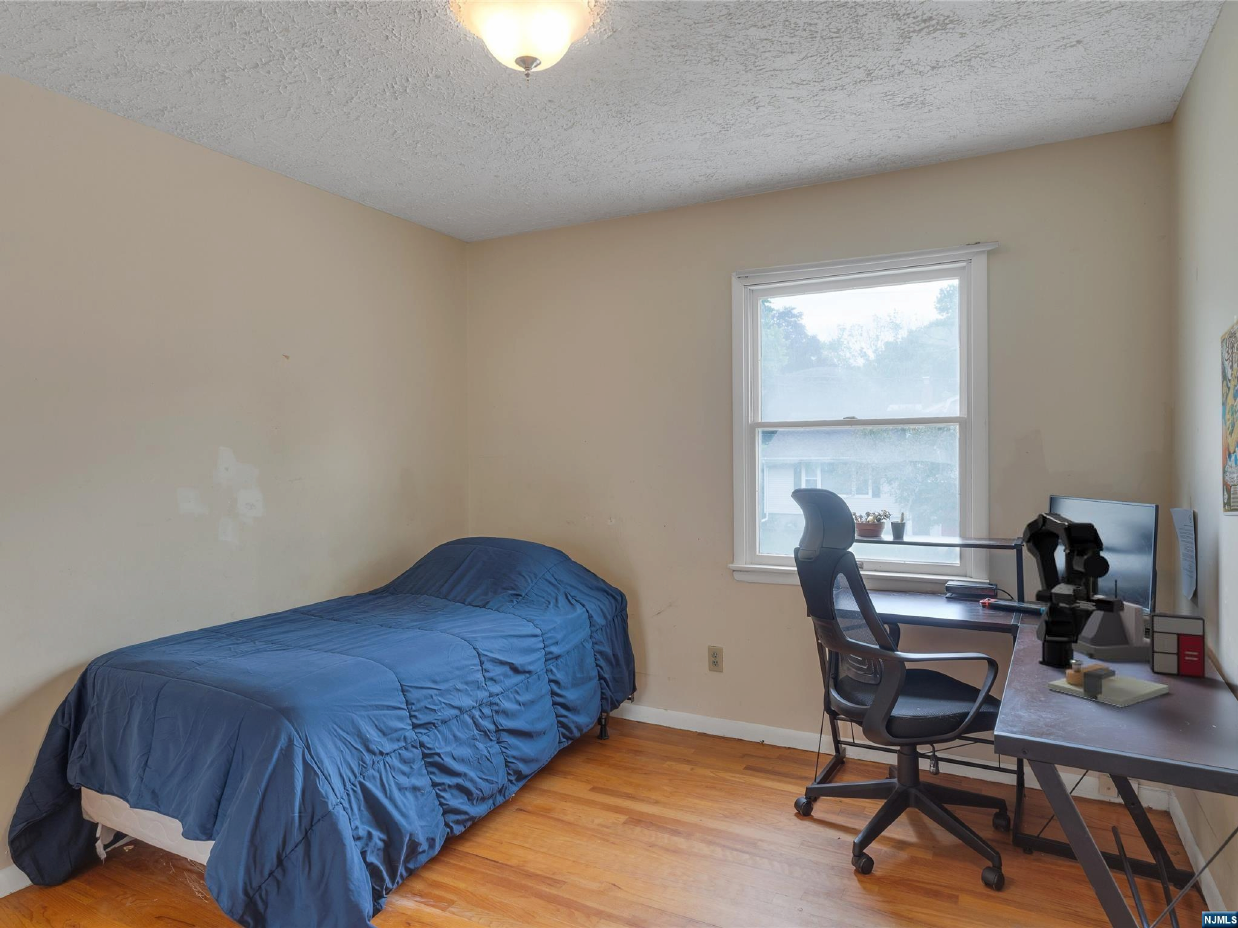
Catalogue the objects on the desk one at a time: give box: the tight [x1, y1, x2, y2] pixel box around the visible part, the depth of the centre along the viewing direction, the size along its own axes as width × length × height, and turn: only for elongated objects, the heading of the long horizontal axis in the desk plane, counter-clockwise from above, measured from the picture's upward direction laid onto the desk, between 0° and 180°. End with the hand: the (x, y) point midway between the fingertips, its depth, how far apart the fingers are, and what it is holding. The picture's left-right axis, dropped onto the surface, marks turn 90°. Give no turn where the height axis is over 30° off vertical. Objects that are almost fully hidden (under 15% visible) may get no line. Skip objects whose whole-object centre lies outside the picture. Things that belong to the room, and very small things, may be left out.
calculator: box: [1148, 612, 1206, 679], centre depth 190 cm, size 11×4×15 cm, turn 62°
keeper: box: [1070, 659, 1116, 699], centre depth 173 cm, size 8×8×7 cm
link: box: [1065, 663, 1110, 685], centre depth 178 cm, size 14×4×2 cm, turn 121°
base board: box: [1047, 673, 1169, 708], centre depth 176 cm, size 16×22×2 cm
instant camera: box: [1072, 594, 1150, 662], centre depth 213 cm, size 21×21×15 cm
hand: (1078, 634), depth 186 cm, fingers closed
